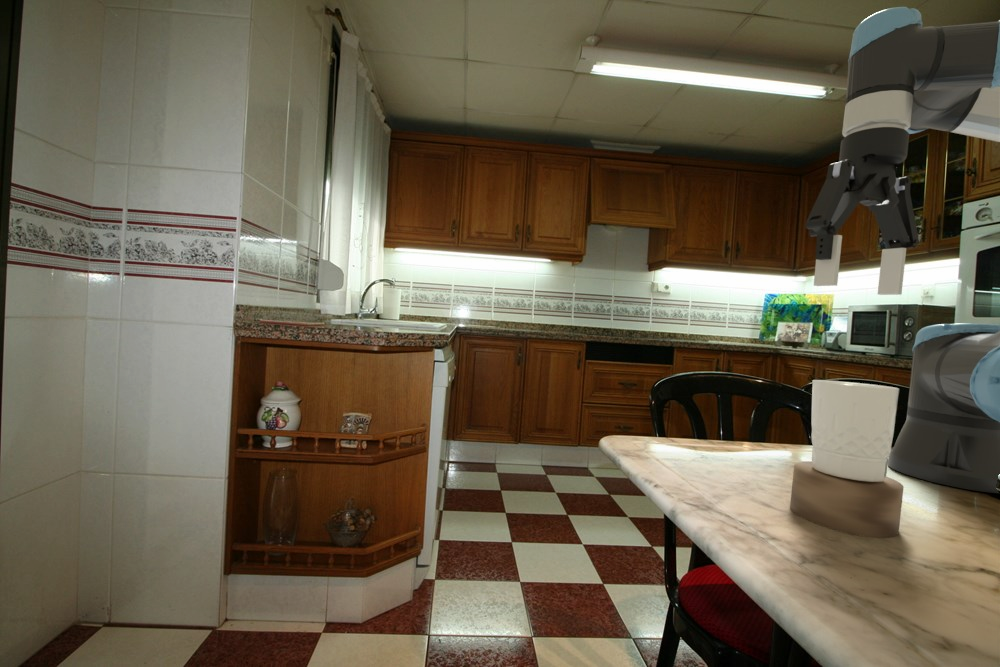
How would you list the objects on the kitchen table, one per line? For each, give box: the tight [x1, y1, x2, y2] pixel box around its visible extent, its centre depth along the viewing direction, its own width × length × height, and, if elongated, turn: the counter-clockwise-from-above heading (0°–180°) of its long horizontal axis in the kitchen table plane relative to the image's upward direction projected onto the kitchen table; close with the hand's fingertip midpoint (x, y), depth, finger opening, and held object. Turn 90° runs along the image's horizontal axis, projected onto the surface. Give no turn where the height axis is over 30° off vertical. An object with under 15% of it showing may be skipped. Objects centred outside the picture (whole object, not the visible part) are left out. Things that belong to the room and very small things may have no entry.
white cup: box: [810, 379, 900, 482], centre depth 56 cm, size 8×8×10 cm
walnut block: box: [789, 460, 905, 539], centre depth 56 cm, size 10×10×5 cm
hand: (858, 290), depth 70 cm, fingers open, 13 cm apart
